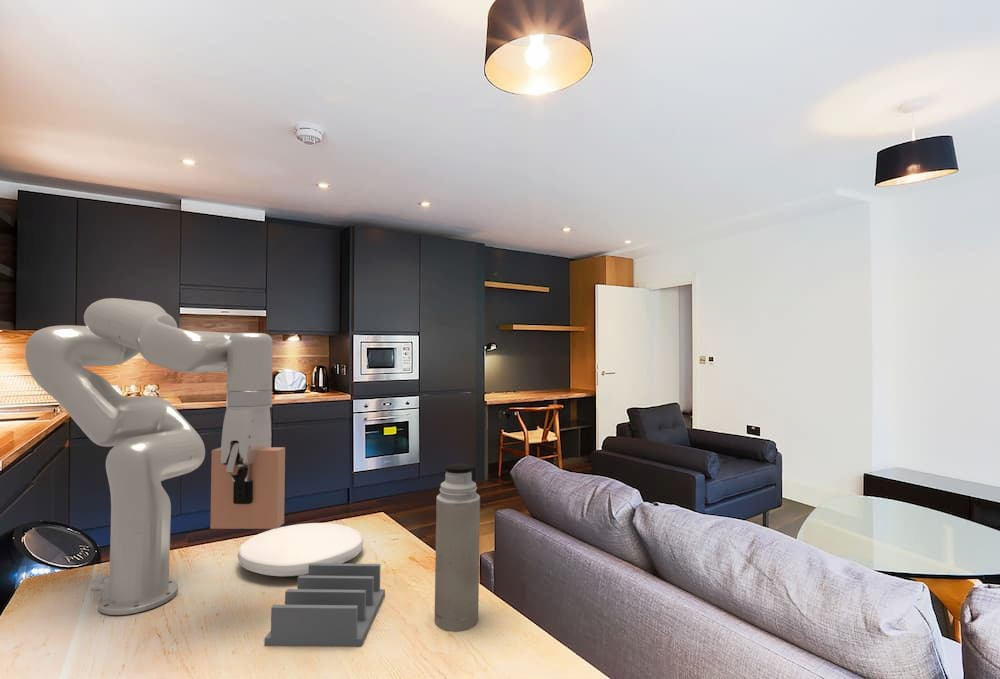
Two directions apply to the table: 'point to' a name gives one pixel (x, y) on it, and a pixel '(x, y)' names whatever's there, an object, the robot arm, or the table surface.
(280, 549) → the plate
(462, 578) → the thermos bottle
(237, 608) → the table surface
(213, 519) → the tile
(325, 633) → the dish rack
